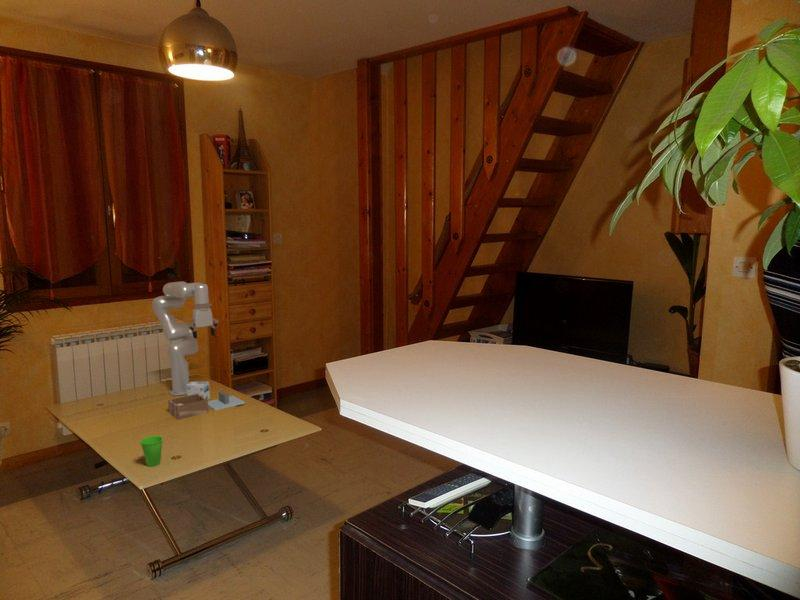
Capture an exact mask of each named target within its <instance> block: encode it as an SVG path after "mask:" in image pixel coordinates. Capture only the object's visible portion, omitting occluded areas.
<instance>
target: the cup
mask: <svg viewBox="0 0 800 600" xmlns="http://www.w3.org/2000/svg"><path fill="white" fill-rule="evenodd" d="M163 440H164V437H163V436H162V435H150V436H146V437H143V438H142V439H141V440H139V444H141V448H142V453H143V455H144V459H145V463H146V466H147V467H148V468H149V467H151V468H152V467H156V466H159V465H160V464H161V459H162V458H161V457H162V447H163Z"/></svg>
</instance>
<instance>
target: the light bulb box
mask: <svg viewBox="0 0 800 600" xmlns="http://www.w3.org/2000/svg"><path fill="white" fill-rule="evenodd" d="M186 388H187V394H186V396H189V395H194V394H200V395H201V396H203V397H204V398H206V399H207V400H208V401H209V399H210V398H211V395H210V384H209V381H189V384H187V385H186Z"/></svg>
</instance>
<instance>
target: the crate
mask: <svg viewBox="0 0 800 600" xmlns="http://www.w3.org/2000/svg"><path fill="white" fill-rule="evenodd" d="M208 401H209V399H208V400H207V399H206V398H204V397H203V396H201V395H200V394H194V395H189V396H187V395H185V396H181V397H180V396H179V397H177V398H171V399H168V400H167V404H168V414H169V415H171V416H172V417H173V418H175V419H176V420H178V421H179V420H183V419H187V418H192V417H195V416H199V415H200V416H201V415H203V414H208V413H210V412H209V407H208ZM179 403H181V404H183V405H179V406H178V405H177V404H179Z"/></svg>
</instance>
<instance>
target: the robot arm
mask: <svg viewBox="0 0 800 600" xmlns="http://www.w3.org/2000/svg"><path fill="white" fill-rule="evenodd" d="M162 292H163V294H164V295H160V296H157V297H154V299H152V303H151V306H152V310H153V312H154V315H155V316H156V318H157V319H158V321H159V324H160V326H161V329H162V331H163V334H164V336H165V338H166V340H167V341H172V342H169V344H168V345H167V348H166V349H167V354H168V356H169V363H170V372H171V373H170V374H171V384H172V385H171V386H172V387H171V389H172V390H170V391H169V394H170V395H171V396H184V395H185V396H187V388H186V385H187V384H189V383H190V375H189V364H188V361H187V360H186V358H184V357H186V356H189V355H194V354H197V352H198V351H199V343H198V340H197V339H198V333H197V329H198V328H205V327H210V335H211V336H212V337H214V336H215V334H216V333H215V332H216V330H215V329H216V327H217V326H218V324H219V321H220V320H219V319H216V318H215V317H214V316H213V312H212V309H211V306H212V305H213V304H212V303H210V300H209V298H210V296H209V286H208V284H206V283H201V282H199V281H198V282H188V283H187V282H186V281H173V282H168V283H165V284H164V285H163V288H162ZM190 297H193V302H194V308H193V309H192V320H190V322H179V323H178V322H177V321H176V318H175V315H173V314H172V313H171V312H170V311H167V310H172V309H180V308H182V307H184V305H185V303H186V301H187V299H188V298H190Z"/></svg>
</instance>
